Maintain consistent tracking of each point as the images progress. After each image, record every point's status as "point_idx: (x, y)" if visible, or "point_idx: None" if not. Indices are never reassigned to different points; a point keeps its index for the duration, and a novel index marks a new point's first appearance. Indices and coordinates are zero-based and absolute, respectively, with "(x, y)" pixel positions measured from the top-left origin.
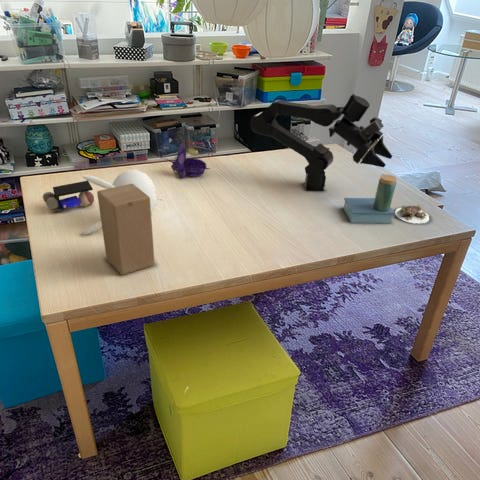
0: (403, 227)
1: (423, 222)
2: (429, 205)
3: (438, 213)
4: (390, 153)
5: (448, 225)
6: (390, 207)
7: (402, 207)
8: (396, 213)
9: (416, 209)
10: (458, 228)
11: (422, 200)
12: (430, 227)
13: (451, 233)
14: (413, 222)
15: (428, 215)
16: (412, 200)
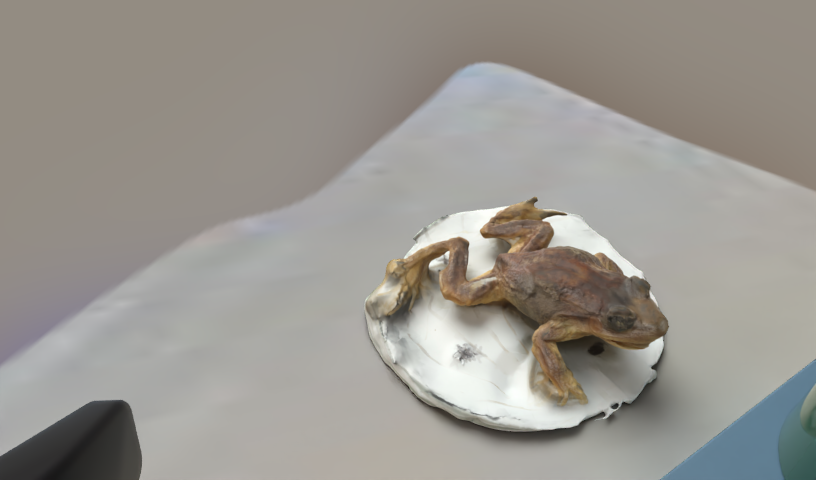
0: (764, 309)
1: (582, 221)
2: (244, 250)
3: (354, 187)
4: (32, 442)
5: (495, 125)
6: (766, 401)
7: (634, 321)
8: (586, 408)
9: (425, 286)
10: (495, 90)
11: (165, 306)
12: (604, 185)
13: (586, 103)
14: (635, 269)
15: (458, 213)
16: (200, 369)
